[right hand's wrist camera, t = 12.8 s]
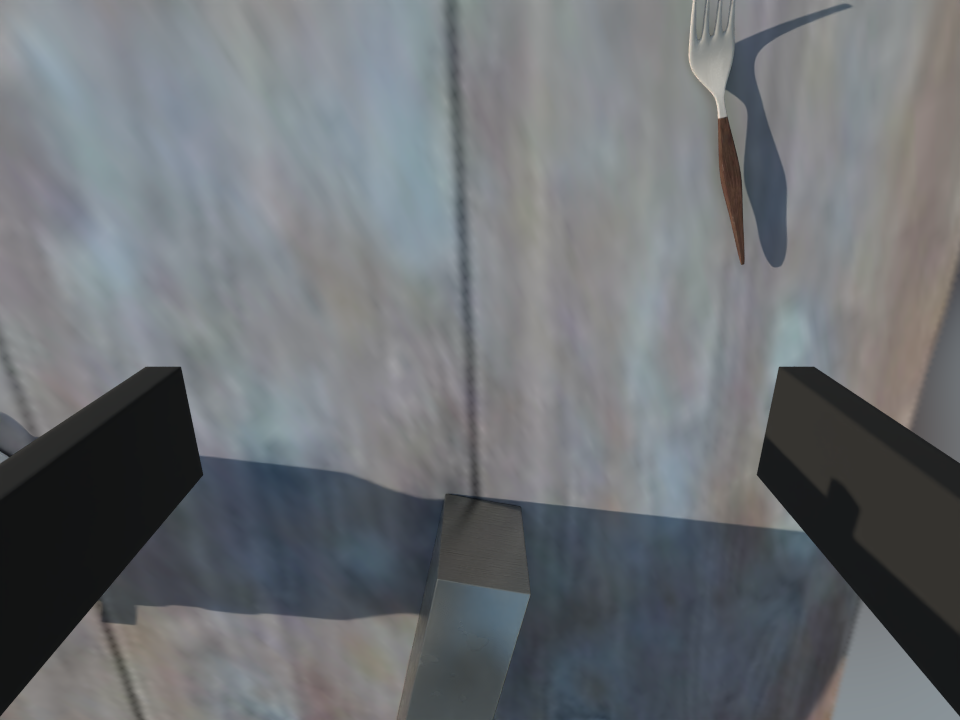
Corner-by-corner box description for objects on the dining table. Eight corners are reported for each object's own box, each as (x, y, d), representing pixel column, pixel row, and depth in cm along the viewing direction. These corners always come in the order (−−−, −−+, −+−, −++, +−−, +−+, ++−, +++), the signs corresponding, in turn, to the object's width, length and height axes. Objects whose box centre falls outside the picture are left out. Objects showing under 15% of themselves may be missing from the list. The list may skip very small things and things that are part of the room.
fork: (719, 268, 37) (731, 275, 35) (678, -3, 31) (691, -13, 29) (759, 257, 36) (774, 263, 35) (725, -19, 31) (741, -29, 29)
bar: (445, 493, 43) (437, 579, 35) (520, 506, 44) (530, 594, 35) (395, 724, 52) (379, 838, 44) (458, 733, 53) (454, 848, 44)
